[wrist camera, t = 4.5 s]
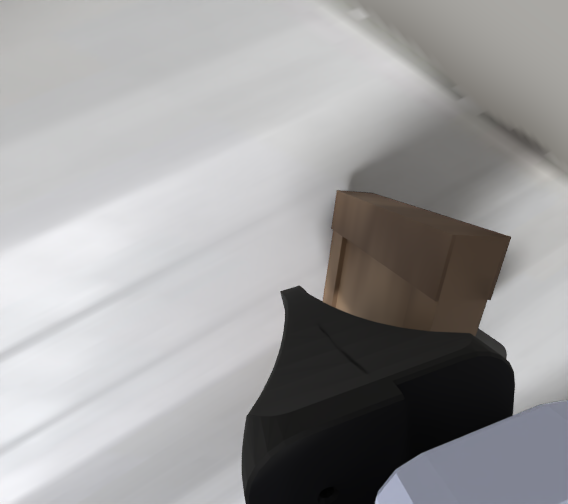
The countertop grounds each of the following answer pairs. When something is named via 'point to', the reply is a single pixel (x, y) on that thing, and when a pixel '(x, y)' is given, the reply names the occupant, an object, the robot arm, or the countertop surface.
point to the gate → (410, 265)
